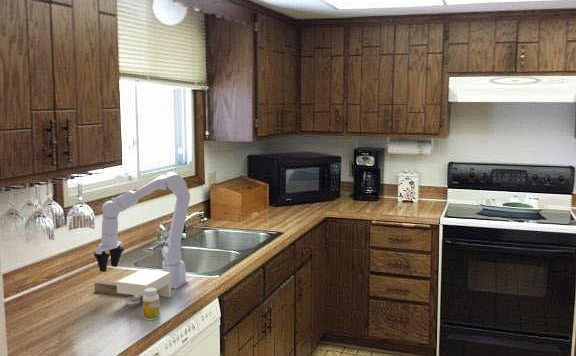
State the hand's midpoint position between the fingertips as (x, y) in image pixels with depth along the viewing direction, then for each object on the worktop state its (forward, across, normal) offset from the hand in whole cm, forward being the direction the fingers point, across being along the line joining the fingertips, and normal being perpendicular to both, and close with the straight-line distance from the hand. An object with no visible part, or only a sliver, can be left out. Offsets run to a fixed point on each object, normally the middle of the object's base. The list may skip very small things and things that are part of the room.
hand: (108, 268), depth 217 cm
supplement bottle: (+8, +18, +28) cm, 35 cm away
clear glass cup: (+9, +8, +15) cm, 20 cm away
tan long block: (+9, -1, +2) cm, 10 cm away
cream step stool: (+8, +4, +18) cm, 20 cm away
